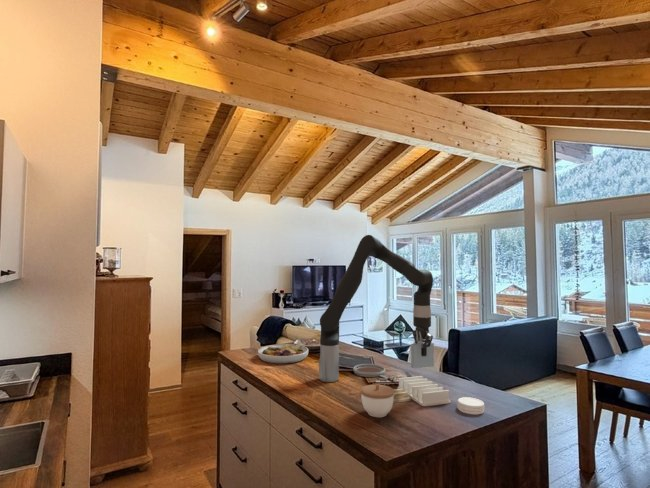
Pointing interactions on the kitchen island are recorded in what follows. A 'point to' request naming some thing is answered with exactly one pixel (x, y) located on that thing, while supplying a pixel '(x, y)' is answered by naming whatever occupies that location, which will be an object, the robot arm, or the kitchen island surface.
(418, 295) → the robot arm
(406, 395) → the plate stand
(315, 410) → the kitchen island surface
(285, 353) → the bowl
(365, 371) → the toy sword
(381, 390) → the lidded bowl
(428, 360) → the grey board
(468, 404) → the coaster
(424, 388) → the dish rack
